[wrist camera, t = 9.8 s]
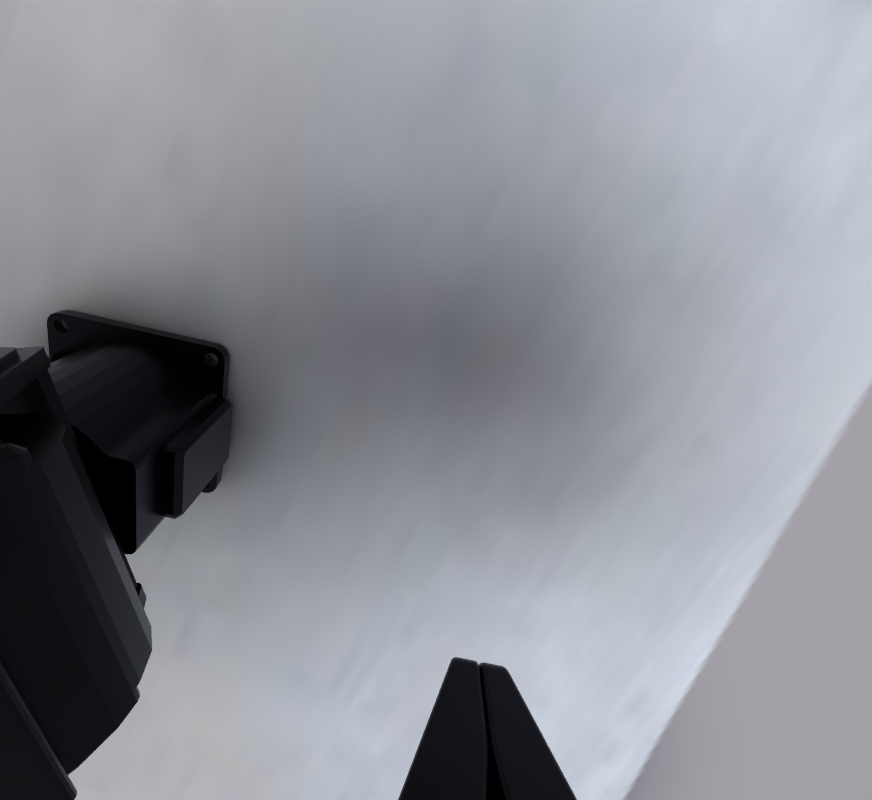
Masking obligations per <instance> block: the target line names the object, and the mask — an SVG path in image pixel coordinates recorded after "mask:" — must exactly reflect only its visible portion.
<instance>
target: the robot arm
mask: <svg viewBox="0 0 872 800" xmlns="http://www.w3.org/2000/svg"><path fill="white" fill-rule="evenodd" d="M62 320H63V321H64V322H65V323H66V324H67V326H68V329H66V328H65V327H64V326H63V325H62V322H61V321H62ZM47 329H48V342H49V355H50V356H48V357H47V355H46V353H45V350H44V348H43V347H28V348H17V349H16V348H0V800H74V799H75V797H76V795H77V790H76V788H75V787H74V785H73V783H72V782H71V780H70V778H69V777H68V775H69V774H70V773H71V772H73V771H74V770H75V769H76V768H78V767H79V766H80V765H81V764H82V763H83V762H84V761H85V760H86V759H87V758H88V757H89V756H90V755H91V754H92V753H93V752H94V751H95V750H96V749H97V748H98V747H99V746H100V745H101V744H102V743H103V742H104V741H105V740H106V739H107V738H108V737H109V736H110V735H111V734H112V733H113V732H114V731H115V730H116V729H117V728H118V727H119V726H120V724H121V723H122V722H123V720H124V719H125V718H126V716H127V715H128V714H129V712H130V711H131V710H132V708H133V707H134V706H135V704H136V703H137V701H138V699H139V697H140V694H139V690H138V688H137V685H138V684H139V682H140V680H141V678H142V675H143V672H144V670H145V667H146V664H147V662H148V659H149V657H150V654H151V651H152V638H151V625H150V623H149V620H148V618H147V616H146V613H145V611H144V606H145V602H146V595H145V593H144V590H143V588H142V585H141V584H140V583H136V580H135V578H134V576H133V573H132V571H131V568H130V566H129V564H128V561H127V559H126V556H125V554H133V553H134V552H136V550H137V549H138V548H139V547H140V546H141V545H142V543H143V542H144V541H145V540H146V539H147V538H148V536H149V535H150V534H151V533H152V532H153V531H154V529H155V528H156V527H157V526H158V525H159V524H160V522H161V521H162V520H163V519H164V518H165V517H169V518H174V519H176V518H177V517H179V516H181V515H182V514H184V512H185V511H186V510H187V509H188V508H189V506H190V505H191V504H192V503H193V501H194V500H195V499H196V498H197V496H198V495H199V494H200V493H201V492H204V493H209V492H212V491H214V490H215V489H216V487H217V486H218V485H219V484H220V481H221V469H222V465H223V464H224V463H225V462H226V461H227V459H228V457H229V445H230V432H231V418H232V404H231V403H230V401H229V400H228V399H226V396H227V382H228V368H229V355H228V352H227V351H226V349H225V348H224V347H223V346H221V345H219V344H216V343H211V342H207V341H203V340H198V339H194V338H189V337H185V336H180V335H176V334H171V333H167V332H162V331H158V330H153V329H149V328H144V327H140V326H135V325H131V324H126V323H122V322H117V321H113V320H108V319H104V318H99V317H95V316H90V315H86V314H81V313H77V312H72V311H68V310H62V311H59V312H56V313H53V314H51V315H50V316H49V317H48V320H47ZM209 353H213V354H215V355H216V356H217V357H218V362H214V361H212V360H211V359H210V357H209ZM209 482H211V483H209ZM398 800H577V799H576V797H575V795H574V793H573V792H572V790H571V788H570V786H569V784H568V782H567V780H566V778H565V777H564V775H563V773H562V771H561V769H560V767H559V765H558V763H557V762H556V760H555V758H554V756H553V754H552V752H551V750H550V748H549V747H548V745H547V743H546V741H545V739H544V737H543V735H542V733H541V732H540V730H539V728H538V726H537V724H536V722H535V720H534V718H533V717H532V715H531V713H530V711H529V709H528V707H527V705H526V704H525V702H524V700H523V698H522V696H521V694H520V692H519V690H518V689H517V687H516V685H515V683H514V681H513V679H512V677H511V675H510V674H509V672H508V670H507V669H506V668H504V667H503V666H499V665H494V664H489V663H480V664H479V665H478V663H477V662H476V661H473V660H468V659H463V658H458V657H454V658H453V659H452V660H451V662H450V665H449V667H448V670H447V673H446V675H445V678H444V681H443V683H442V686H441V688H440V691H439V694H438V696H437V699H436V702H435V704H434V707H433V710H432V712H431V715H430V717H429V720H428V723H427V725H426V728H425V731H424V733H423V736H422V738H421V741H420V744H419V746H418V749H417V752H416V754H415V757H414V759H413V762H412V765H411V767H410V770H409V773H408V775H407V778H406V781H405V783H404V786H403V788H402V791H401V794H400V796H399V799H398Z"/></svg>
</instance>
